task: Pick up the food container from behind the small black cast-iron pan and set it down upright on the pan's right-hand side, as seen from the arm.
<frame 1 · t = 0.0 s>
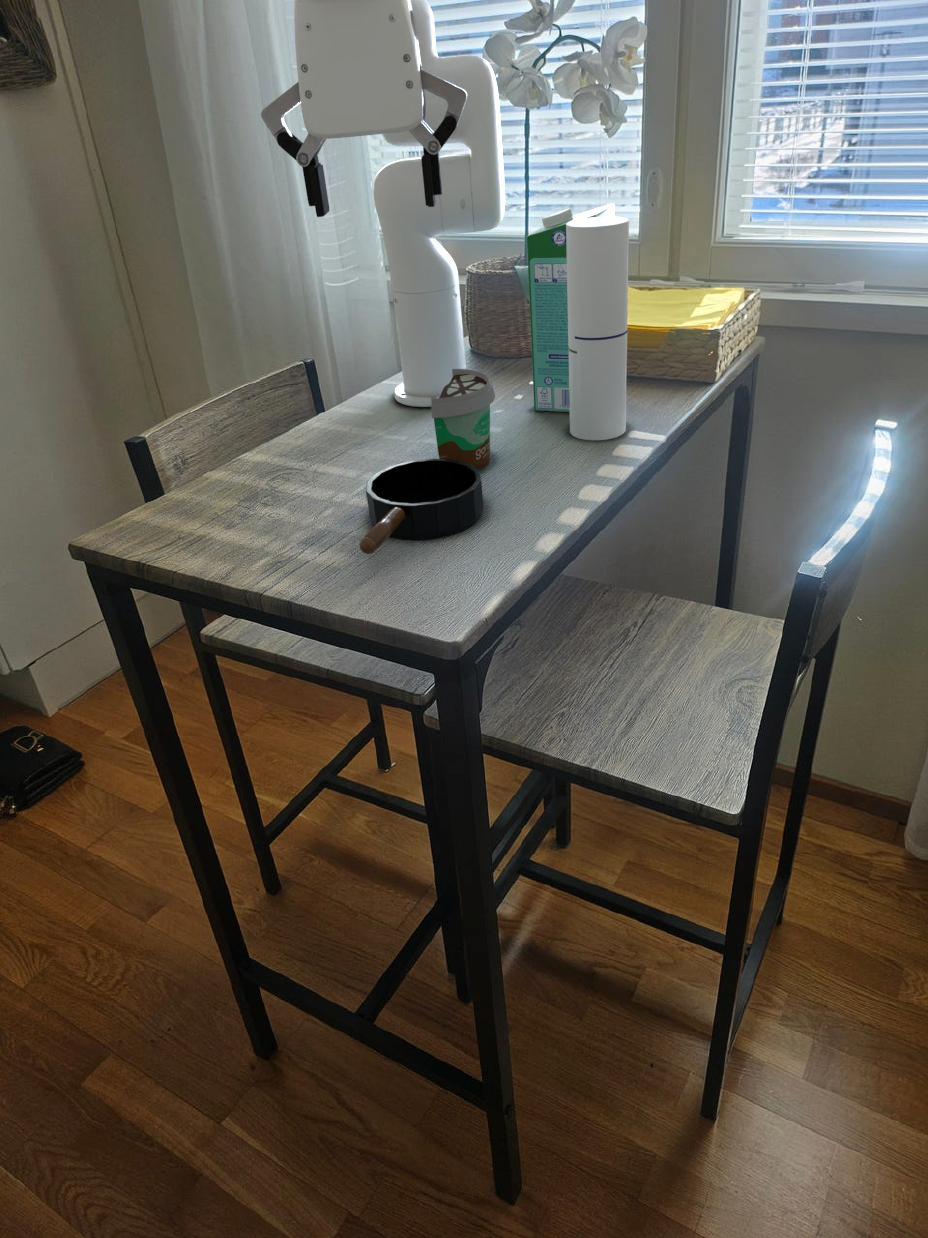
hand: (377, 209, 78), 31 cm above the table, tool pointing down, fingers open, 9 cm apart
milk carton: (574, 402, 124), on the table
cylindrical container: (597, 431, 114), on the table
food container: (474, 464, 108), on the table
pan: (427, 514, 97), on the table
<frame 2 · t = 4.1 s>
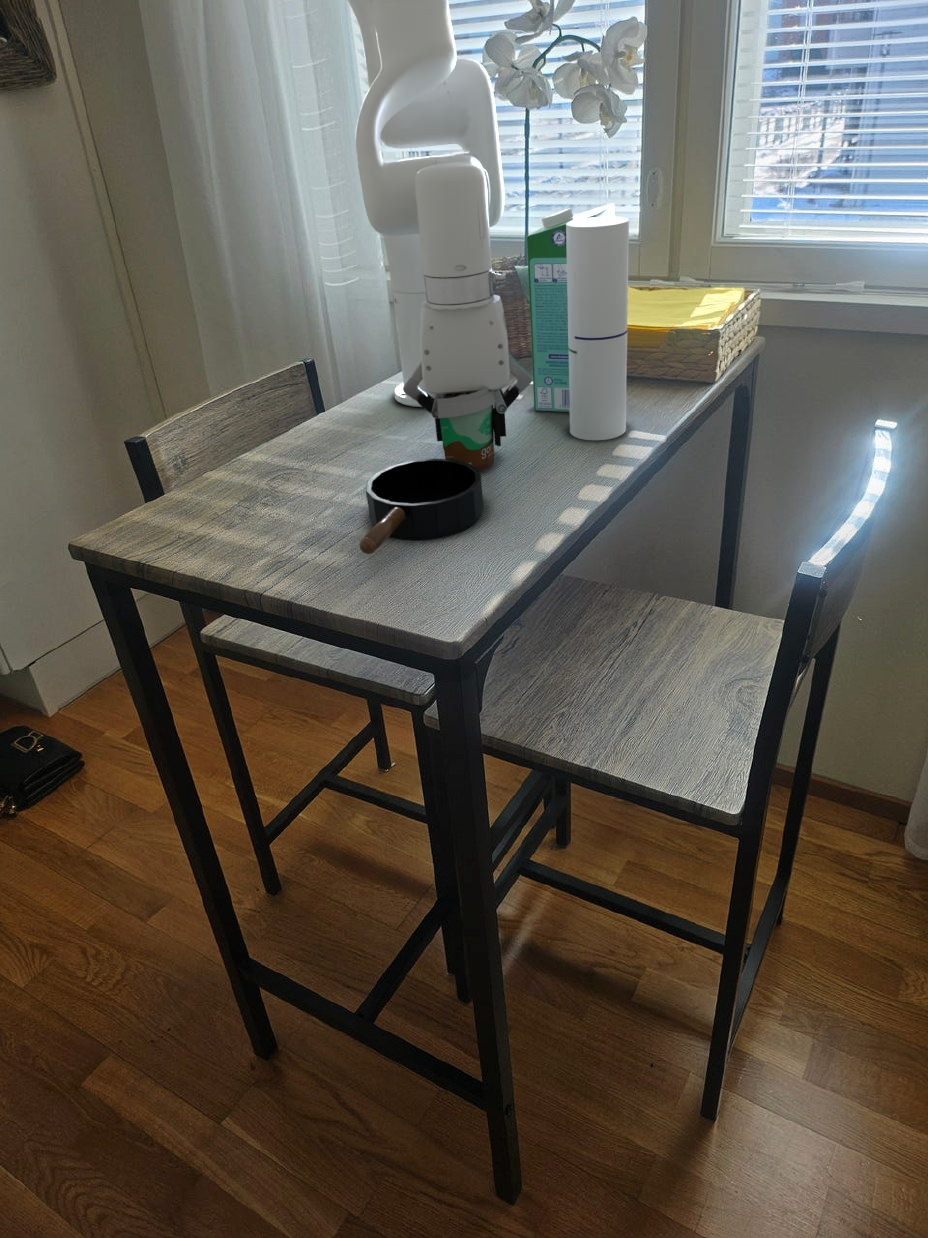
hand: (472, 442, 107), 3 cm above the table, tool pointing down, fingers closed on food container, 5 cm apart
food container: (478, 463, 108), on the table, touching gripper
everything else where it was.
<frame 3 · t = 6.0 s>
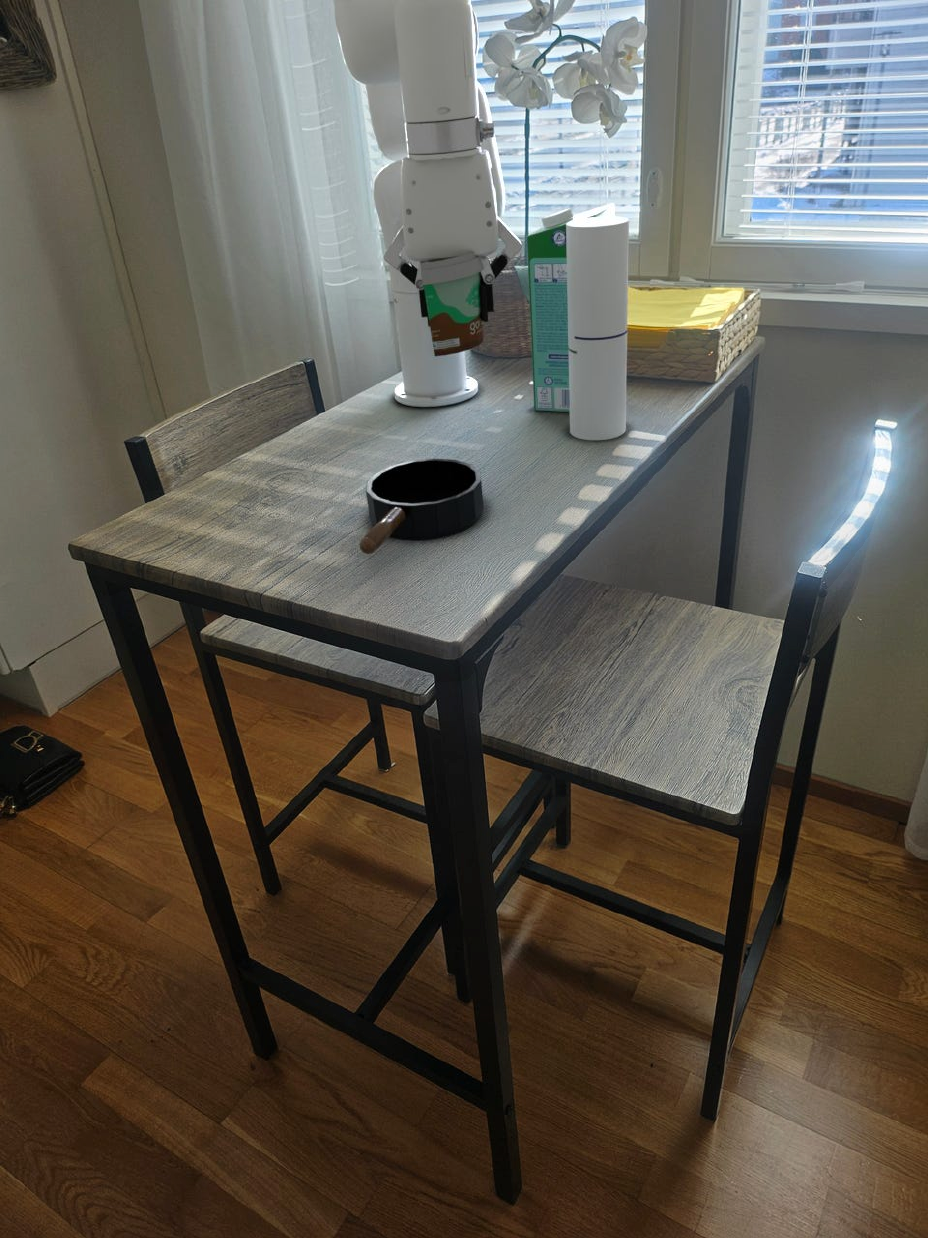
hand: (458, 319, 99), 17 cm above the table, tool pointing down, fingers closed on food container, 5 cm apart
food container: (467, 343, 101), point 14 cm above the table, touching gripper
everything else where it was.
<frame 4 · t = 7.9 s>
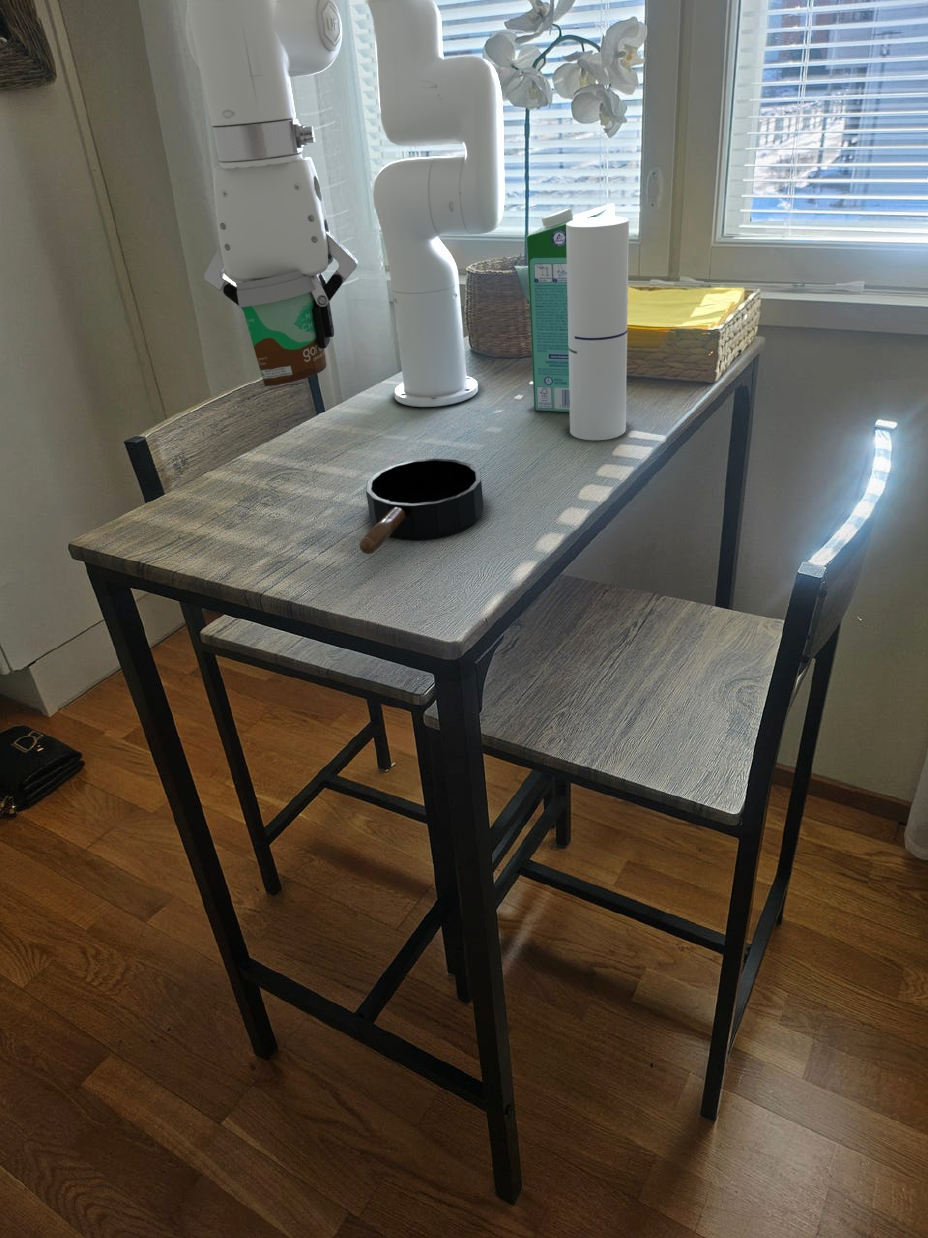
hand: (294, 345, 89), 19 cm above the table, tool pointing down, fingers closed on food container, 5 cm apart
food container: (307, 371, 91), point 16 cm above the table, touching gripper
everything else where it was.
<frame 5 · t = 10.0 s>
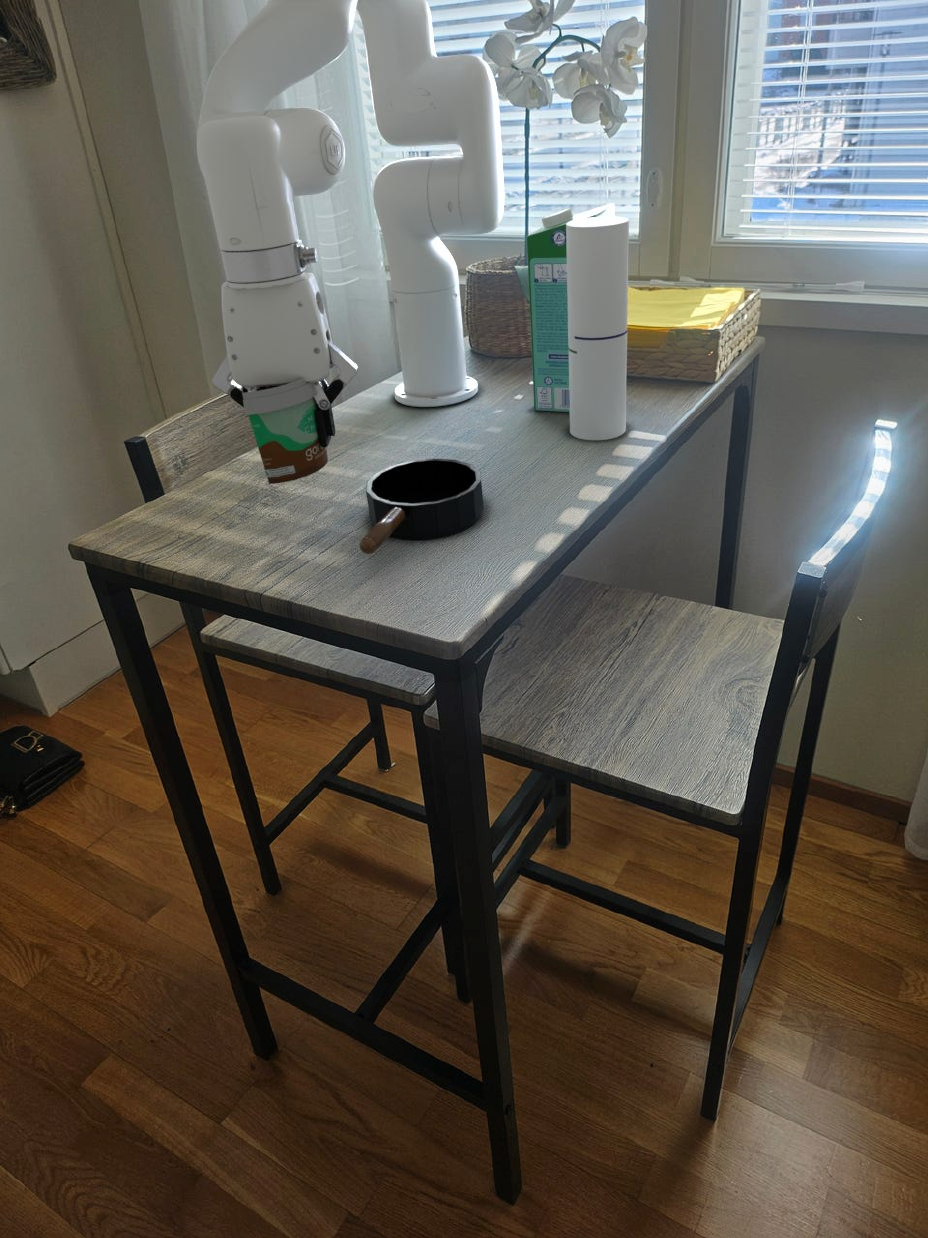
hand: (298, 442, 94), 9 cm above the table, tool pointing down, fingers closed on food container, 5 cm apart
food container: (310, 466, 95), point 6 cm above the table, touching gripper
everything else where it was.
when the fingers open (3 cm above the table, at t = 11.9 s): food container stays where it is, on the table.
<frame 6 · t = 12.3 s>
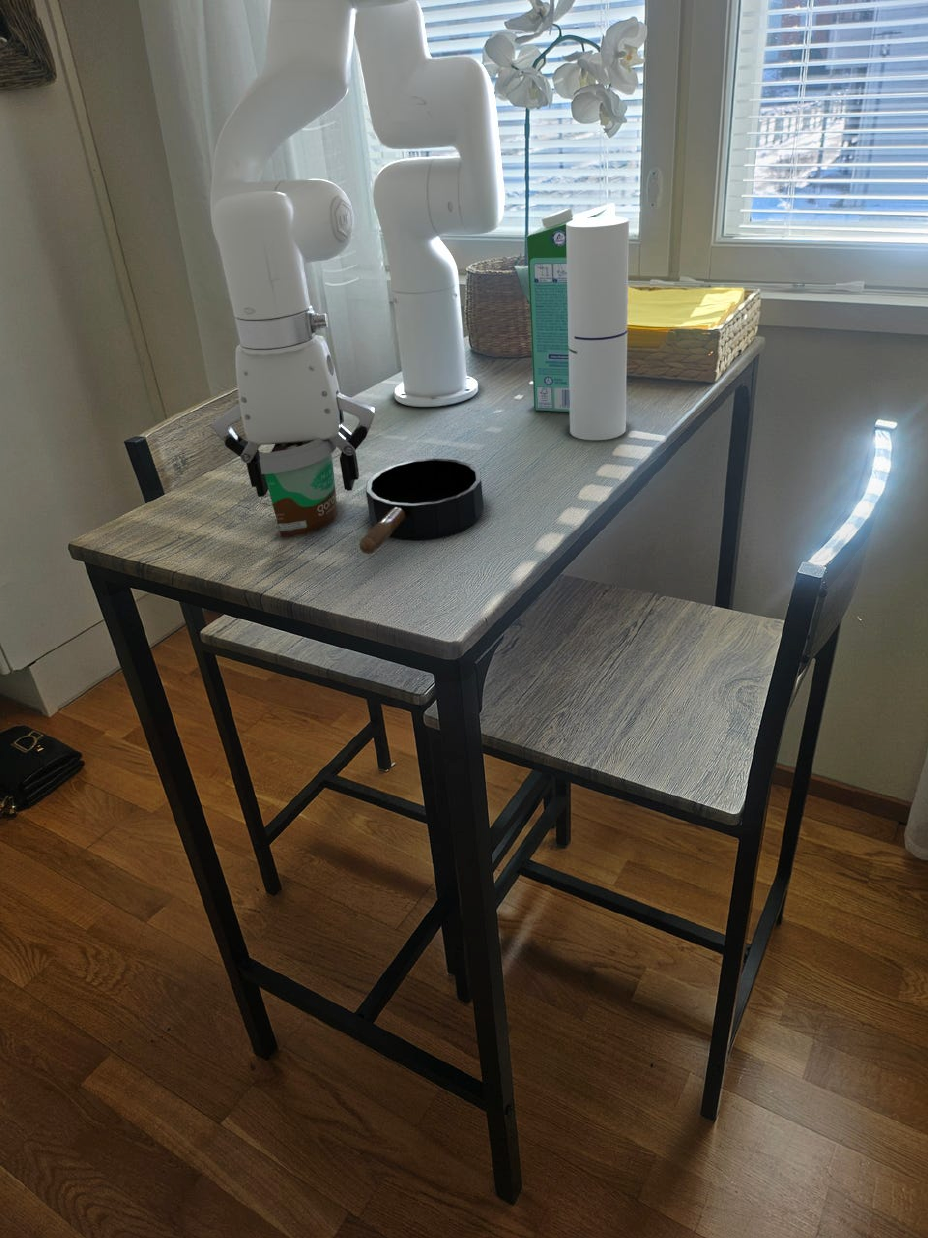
hand: (307, 488, 97), 4 cm above the table, tool pointing down, fingers open, 9 cm apart
food container: (320, 519, 99), on the table
everything else where it was.
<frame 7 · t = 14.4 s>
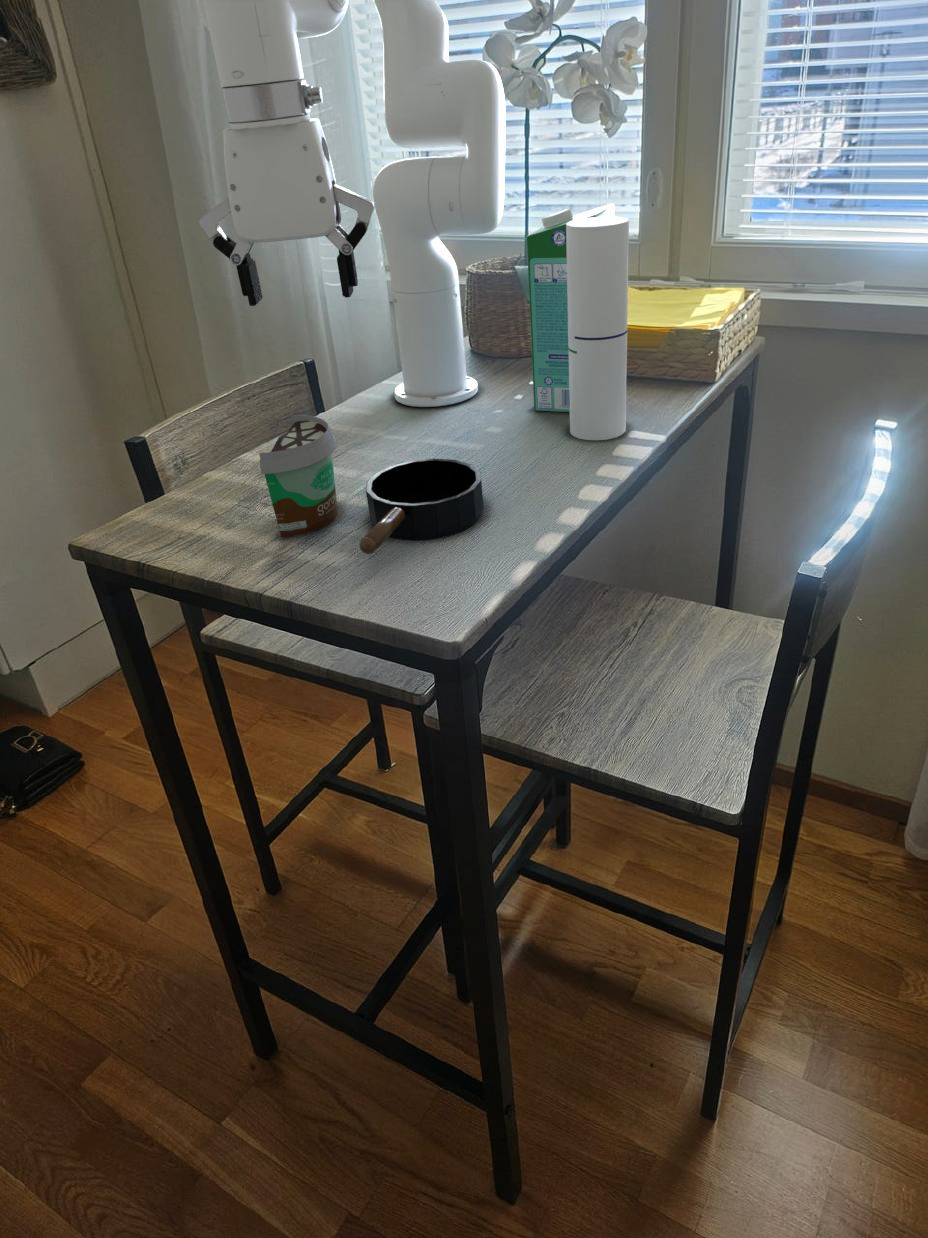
hand: (302, 298, 90), 23 cm above the table, tool pointing down, fingers open, 9 cm apart
nothing on the table moved.
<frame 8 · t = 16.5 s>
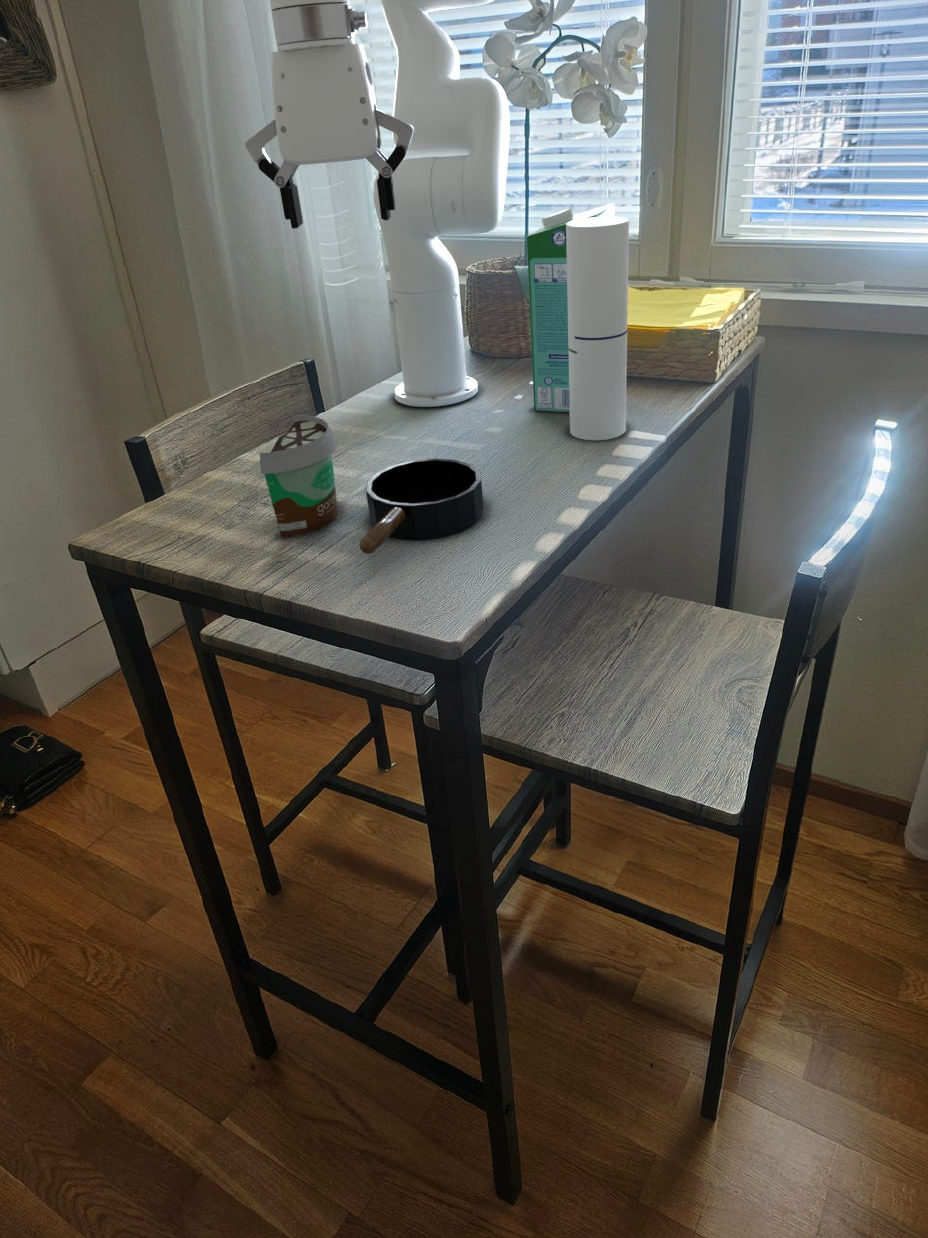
hand: (341, 222, 94), 28 cm above the table, tool pointing down, fingers open, 9 cm apart
nothing on the table moved.
at the end: food container inside the target area on the table beside the pan (1.3 cm from its centre), on the table; food container tilted 0°; the gripper is holding nothing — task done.
